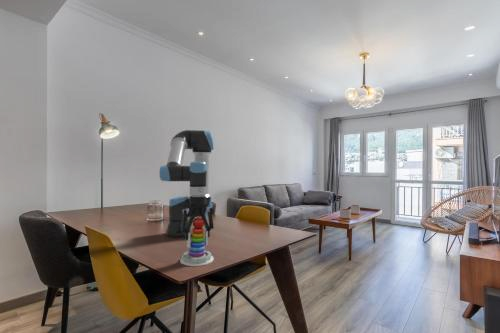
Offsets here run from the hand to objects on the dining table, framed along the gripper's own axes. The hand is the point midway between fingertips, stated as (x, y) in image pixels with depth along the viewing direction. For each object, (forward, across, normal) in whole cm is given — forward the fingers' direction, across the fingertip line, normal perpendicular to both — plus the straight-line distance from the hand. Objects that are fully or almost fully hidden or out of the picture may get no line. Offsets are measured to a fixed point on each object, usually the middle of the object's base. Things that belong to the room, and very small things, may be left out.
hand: (197, 245), depth 121 cm
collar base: (+7, 0, 0) cm, 7 cm away
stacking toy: (+6, 0, 0) cm, 6 cm away
